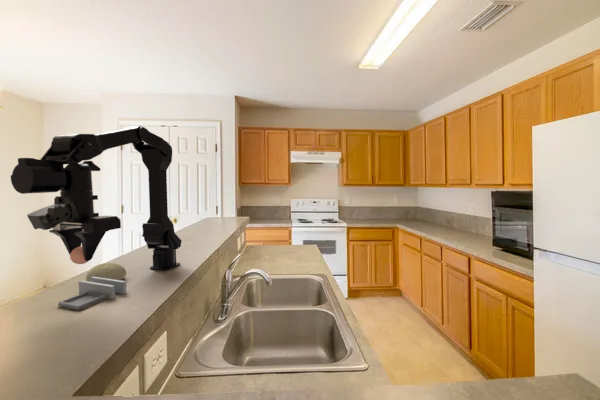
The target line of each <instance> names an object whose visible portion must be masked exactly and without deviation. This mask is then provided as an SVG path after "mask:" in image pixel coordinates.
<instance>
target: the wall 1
mask: <svg viewBox="0 0 600 400" xmlns="http://www.w3.org/2000/svg"><path fill="white" fill-rule="evenodd" d="M87 291H89V292H95V293H100V294H106V295H107V299H111V300H113V299H115V298H116V293H115V286H114V285H108V284H101V283H95V282H89V281H86V280H79V281H78V292H79V293H78V294H82V293H85V292H87Z"/></svg>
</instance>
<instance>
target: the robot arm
mask: <svg viewBox="0 0 600 400" xmlns="http://www.w3.org/2000/svg"><path fill="white" fill-rule="evenodd" d="M129 144H132V147H133V148H134V150H136V151H137V152H138V153H140V155H141V161H142V163H143V165H144V166H145V167H146V169H147V171H148V172H147V173H148V194H149V195H148V196H149V199H148V200H149V218H148V220H147V221H146V222H144V223H142V225H141V226H142V235H141V237H143V241H144V242H145V243H146V247H147V249H149V250H151V249H152V252H153V254H152V265H150V267H149V269H152V270H157V271H159V270H160V271H168V270H171V269H173V268H175V267H178V266H180V265H181V263H180V262H177V250H178V249H179V248H181V246H182V239H181V238H180V237H179V236H178V235H177V233H175V227H174V223H173V222H172V221H171V219H170V217H169V213H168V212H169V211H168V209H169V208H168V185H167V184H168V183H167V181H168V179H167V178H168V177H167V175H168V174H167V170H168V169H169V167H170V165H171V163H172V161H173V148H172V147H173V146H171V144H170V142H168V141H166V140H165V139H164V138H163V137H161V136H159V135H156V134H155V133H153V132H151V131H149V129H147V128H146V127H144V126H141V125H140V126H128V127H127V128H122V129H117V130H111V131H107V132H100V133H73V134H59V135H55V136H53V137H52V141H51V144H50V147H49V148H48V149H47V150H46V151H45V153H44V154H43V155H42V157H41V158H40V159H36V158H33V157H18V158H17V163H18V164H16V165H14V168H13V170H12V174H11V175H10V183H11V185H12V188H13V189H14V190H15V191H16V192H17V193H19V194H22V195H23V194H39V193H40V194H43V193H45V194H46V193H57V192H59V195H60V196H59V195H58V196H55V198H54V200H53V201H54V203H53V204H51V205H47V206H44V207H42V208H39V209H36V210H34V211H32V212H30V213H28V214H27V215H26V216H27V218H28V220H29V222H30V223H31V226H32V227H33V229H34V230H38V229H39V230H43V231H47V230H48V232H49V233H51V234H54V235H56V236H57V237H59V238H60V240H61V241H62V243H63V244H64V246H65V248H66V250H67V252H68V254H69V256H70V254H71V252H72V251H73V250H74V249H75V248H77V247H80V246H82V248H83V254H84V258H85V261H88V262H90V261H91V260H92V259H93V257H94V255H95V253H96V251H97V249H98V247H99V245H100V243H101V241H102V239H103V237H104V235H105V234H106V233H107V232H109V231H112V230H117V229H121V227H122V225H121V223H122V222H121V219H120V218H119V217H118V216H116V215H100V213H99V212H95V207H94V200H95V201H96V200H99V195H98V194H97V195H96V194H93V193H94V191H93V175H92V172H100V171H101V167H99V165H97V164H95V162H93V161H92V160H93V159H94V158H96V157H99V156H100V155H102V153H103V152H105V151H107V150H110V149H113V148H118V147H121V146H124V145H129ZM81 162H82V163H81ZM64 165H65V167H64ZM99 215H100V216H99ZM50 229H51V230H50Z"/></svg>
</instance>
